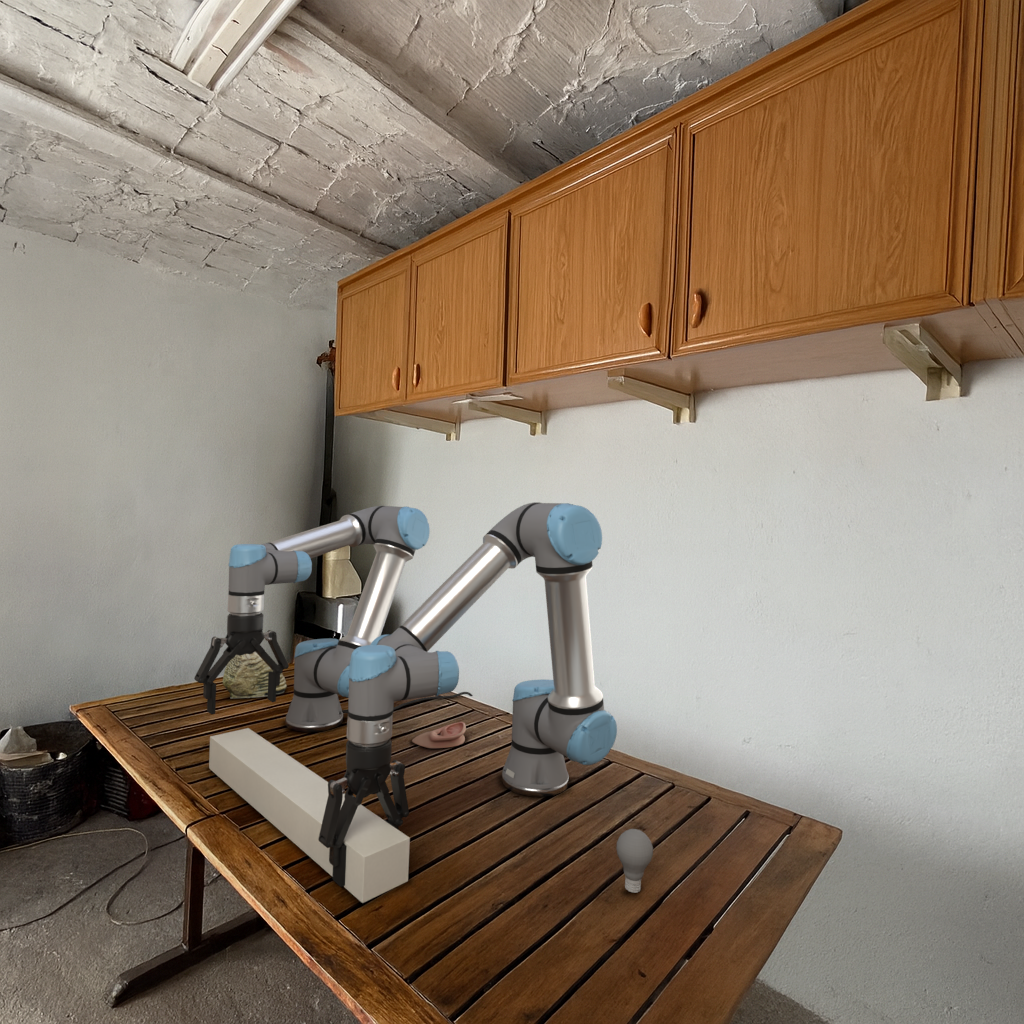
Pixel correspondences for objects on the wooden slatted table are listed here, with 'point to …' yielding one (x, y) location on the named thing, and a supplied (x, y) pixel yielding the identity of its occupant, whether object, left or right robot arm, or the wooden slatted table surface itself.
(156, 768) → the wooden slatted table surface
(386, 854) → the long square beam
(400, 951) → the wooden slatted table surface
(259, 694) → the fossil
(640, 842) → the light bulb
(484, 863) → the wooden slatted table surface
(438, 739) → the anatomical model
